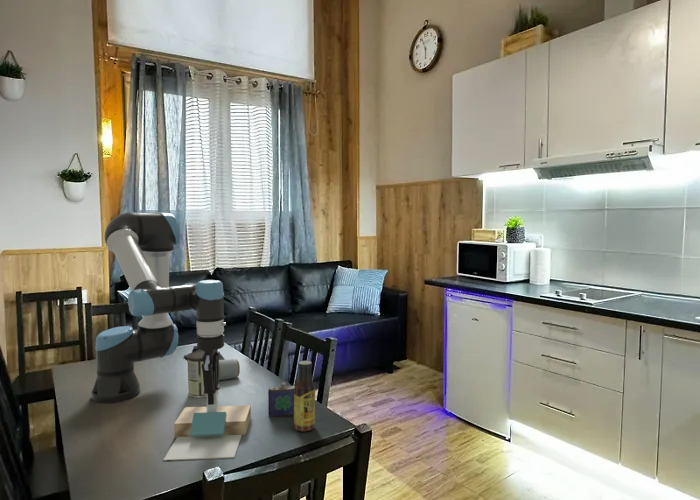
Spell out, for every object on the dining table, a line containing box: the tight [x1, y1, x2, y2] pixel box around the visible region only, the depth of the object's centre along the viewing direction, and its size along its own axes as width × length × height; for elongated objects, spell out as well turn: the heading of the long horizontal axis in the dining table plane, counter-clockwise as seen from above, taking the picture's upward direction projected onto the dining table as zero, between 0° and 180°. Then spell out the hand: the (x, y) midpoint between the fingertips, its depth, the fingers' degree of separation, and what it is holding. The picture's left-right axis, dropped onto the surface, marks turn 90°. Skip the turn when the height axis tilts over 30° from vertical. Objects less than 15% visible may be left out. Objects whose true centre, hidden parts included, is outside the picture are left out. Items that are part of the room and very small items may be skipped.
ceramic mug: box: [219, 358, 241, 381], centre depth 174 cm, size 11×8×8 cm
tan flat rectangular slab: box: [173, 404, 252, 438], centre depth 133 cm, size 20×11×4 cm, turn 95°
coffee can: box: [186, 350, 219, 399], centre depth 159 cm, size 10×10×14 cm
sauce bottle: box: [293, 360, 316, 433], centre depth 132 cm, size 7×6×20 cm
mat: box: [162, 435, 243, 462], centre depth 121 cm, size 18×12×1 cm, turn 95°
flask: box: [267, 381, 295, 419], centre depth 140 cm, size 9×3×11 cm, turn 103°
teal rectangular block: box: [190, 412, 227, 437], centre depth 126 cm, size 9×6×2 cm
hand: (212, 413), depth 129 cm, fingers closed
